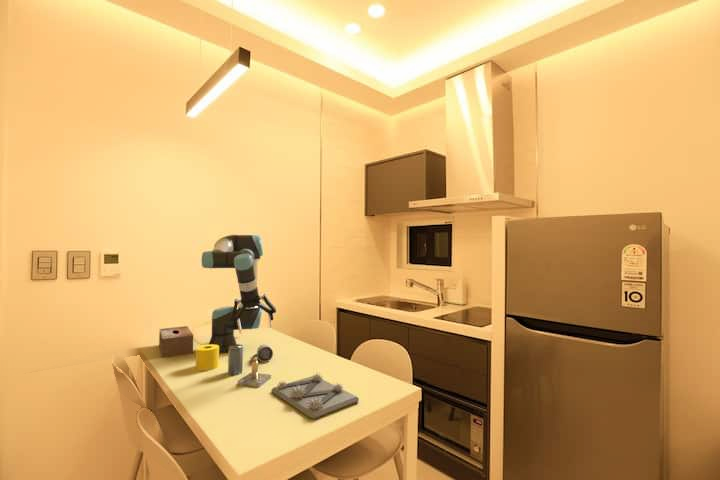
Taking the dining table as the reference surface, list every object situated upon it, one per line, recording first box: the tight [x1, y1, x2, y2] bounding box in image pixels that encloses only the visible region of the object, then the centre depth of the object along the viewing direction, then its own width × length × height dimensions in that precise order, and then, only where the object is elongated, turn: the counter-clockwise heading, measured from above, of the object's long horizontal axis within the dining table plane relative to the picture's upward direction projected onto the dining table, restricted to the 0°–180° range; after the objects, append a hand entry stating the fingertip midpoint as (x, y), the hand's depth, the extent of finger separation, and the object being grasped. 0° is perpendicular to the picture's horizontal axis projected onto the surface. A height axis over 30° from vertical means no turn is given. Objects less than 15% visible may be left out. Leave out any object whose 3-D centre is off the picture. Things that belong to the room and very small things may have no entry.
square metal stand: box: [237, 357, 272, 388], centre depth 144 cm, size 10×10×10 cm
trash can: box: [227, 343, 244, 376], centre depth 154 cm, size 8×6×12 cm
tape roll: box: [195, 344, 220, 372], centre depth 161 cm, size 10×10×9 cm
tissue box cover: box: [158, 325, 194, 359], centre depth 189 cm, size 26×14×10 cm, turn 34°
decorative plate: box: [270, 371, 360, 420], centre depth 130 cm, size 30×22×7 cm
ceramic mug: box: [250, 343, 274, 363], centre depth 172 cm, size 11×8×8 cm
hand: (256, 329), depth 156 cm, fingers open, 13 cm apart
